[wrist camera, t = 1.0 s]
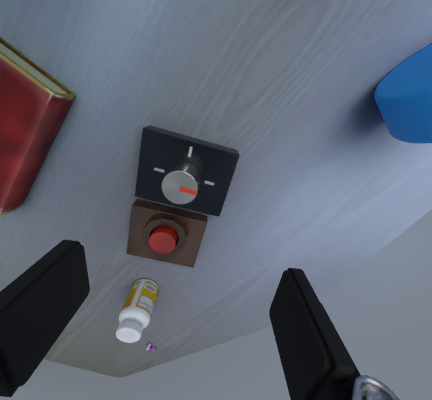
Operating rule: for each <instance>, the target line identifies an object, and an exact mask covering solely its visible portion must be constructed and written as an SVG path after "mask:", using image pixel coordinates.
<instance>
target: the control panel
mask: <svg viewBox="0 0 432 400" xmlns="http://www.w3.org/2000/svg"><path fill="white" fill-rule="evenodd" d="M238 158H239V153H238V151H237V150H234V149H231V148H227V147H224V146H220V145H217V144H213V143H210V142H206V141H203V140H199V139H196V138H192V137H189V136H185V135H182V134H178V133H175V132H171V131H168V130H164V129H160V128H157V127H153V126H147V127H143V133H142V141H141V150H140V158H139V167H138V175H137V184H136V193H135V196H136V197H140V198H145V199H149V200H153V201H157V202H161V203H165V204H169V205H174V206H178V207H182V208H186V209H190V210H194V211H198V212H203V213H207V214H211V215H215V216H220V213H221V210H222V207H223V204H224V201H225V198H226V195H227V192H228V188H229V185H230V182H231V179H232V176H233V173H234V170H235V167H236V164H237V161H238ZM182 161H186V162H190V163H192V164H193V165H195V166H196V167H197V169H198V170H199V172H200V183H199V188H198V192H197V195H196V197H195V198H194V199H193V200H192V201H191V202H189V203H187V204H175V203H173V202H171V201H169V200H168V199H167V198H166V197H165V196H164V194H163V191H162V181H163V179H164V177H165V176H166V174H167V173H168V172H169V170H170V169H171V167H172V166H173V165H174V164H176V163H178V162H182Z"/></svg>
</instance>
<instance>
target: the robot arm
mask: <svg viewBox="0 0 432 400" xmlns="http://www.w3.org/2000/svg"><path fill="white" fill-rule="evenodd" d="M89 290H90V286H89V279H88V272H87V265H86V258H85V251H84V246H83V245H81V244H80V242H78V241H71V240H63V241H61V242H60V243H59V244H58V245H57V246H55V247H54V248H53V249H52V250H50V251H49V252H48V253H47V254H46V255H44V256H43V257H42V258H41V259H40V260H38V261H37V262H36V263H35V264H34V265H32V266H31V267H30V268H29V269H28V270H26V271H25V272H24V273H23V274H21V275H20V276H19V277H18V278H17V279H15V280H14V281H13V282H12V283H11V284H9V285H8V286H7V287H6V288H5V289H3V290H2V291H1V292H0V396H4V397H12V395H13V394H14V393H15V391H16V390H17V388H18V387H19V386H22V385H24V384H25V383H26V382H27V380H28V379H29V378H30V376H31V375H32V374H33V372H34V371H35V369H36V368H37V367H38V365H39V364H40V362H41V361H42V360H43V358H44V357H45V355H46V354H47V352H48V351H49V350H50V348H51V347H52V345H53V344H54V343H55V341H56V340H57V338H58V337H59V336H60V334H61V333H62V331H63V330H64V328H65V327H66V326H67V324H68V323H69V321H70V320H71V319H72V317H73V316H74V314H75V313H76V312H77V310H78V309H79V307H80V306H81V304H82V303H83V302H84V300H85V299H86V297H87V296H88V294H89ZM269 314H270V320H271V323H272V327H273V331H274V335H275V339H276V343H277V347H278V351H279V355H280V359H281V363H282V367H283V371H284V374H285V379H286V383H287V386H288V390H289V394H290V398H291V400H399V399H398V397H397V396H396V395H395V394H394V393H393V392H392V391H391V390H390V389H389V388H388V387H387V386H386V385H384V384H383V383H382V382H380V381H379V380H377V379H375V378H373V377H370V376H367V375H366V376H364V375H360V373H359V371H358V370H357V368H356V366H355V364H354V362H353V361H352V359H351V357H350V355H349V353H348V351H347V349H346V347H345V346H344V344H343V342H342V340H341V338H340V337H339V335H338V333H337V331H336V329H335V327H334V325H333V324H332V322H331V320H330V318H329V316H328V314H327V312H326V311H325V309H324V307H323V305H322V304H321V303H320V302H319V300H318V298H317V296H316V294H315V292H314V290H313V288H312V287H311V285H310V283H309V281H308V279H307V277H306V275H305V274H304V272H303V270H301V269H295V268H288V270H287V271H284V272H283V275H282V278H281V280H280V283H279V286H278V288H277V291H276V294H275V296H274V299H273V302H272V304H271V307H270V311H269Z"/></svg>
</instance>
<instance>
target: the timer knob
mask: <svg viewBox="0 0 432 400" xmlns="http://www.w3.org/2000/svg"><path fill="white" fill-rule="evenodd" d="M199 183H200V172H199V170H198V169H197V167H196V166H195V165H193V164H192V163H190V162H186V161H182V162H178V163H176V164H174V165H173V166H172V167H171V169H170V170H169V172H168V173H167V174H166V176H165V177H164V179H163V181H162V191H163V194H164V196H165V197H166V198H167V199H168V200H169V201H171V202H173V203H175V204H187V203H189V202H191V201H192V200H193V199H194V198H195V197H196V195H197V192H198V188H199Z"/></svg>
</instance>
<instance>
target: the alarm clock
mask: <svg viewBox="0 0 432 400" xmlns="http://www.w3.org/2000/svg"><path fill="white" fill-rule="evenodd" d="M374 98H375V101H376V103H377V105H378V108H379V110H380V112H381V114H382V117H383V119H384V121H385V123H386V126H387V128H388V130H389V133H390V134H391V135H392V136H393V137H394V138H396V139H398V140H401V141H404V142H409V143H432V43H431V44H430V45H428V46H426V47H425V48H423V49H422V50H420V51H419V52H417V53H415V54H414V55H412V56H411V57H410V58H408V59H407V60H405V61H404V62H403V63H401V64H400V65H399V66H397V67H396V68H395V69H394V70H392V71H391V72H390V73H389V74H388V75H387V76H386V77H385V78H384V79H383V80H382V81H381V82H380V83H379V85H378V86H377V88H376V90H375V93H374Z"/></svg>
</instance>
